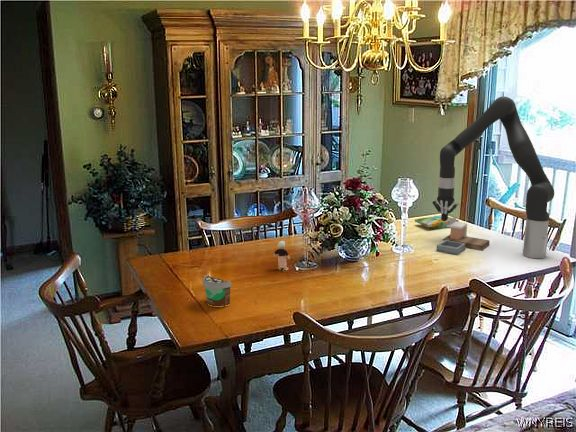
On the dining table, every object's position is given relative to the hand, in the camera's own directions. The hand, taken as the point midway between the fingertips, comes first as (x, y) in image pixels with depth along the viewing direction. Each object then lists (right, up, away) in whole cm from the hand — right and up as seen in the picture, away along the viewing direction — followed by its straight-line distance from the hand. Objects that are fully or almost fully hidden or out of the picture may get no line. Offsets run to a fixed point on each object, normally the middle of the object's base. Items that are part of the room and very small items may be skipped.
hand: (444, 220), depth 273 cm
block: (+5, -11, -1) cm, 12 cm away
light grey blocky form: (+5, -8, -2) cm, 10 cm away
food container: (-104, -31, -70) cm, 129 cm away
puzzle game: (+3, -4, +27) cm, 28 cm away
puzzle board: (+9, -11, -4) cm, 15 cm away
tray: (-1, -14, -13) cm, 19 cm away
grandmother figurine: (-80, -21, -34) cm, 89 cm away
